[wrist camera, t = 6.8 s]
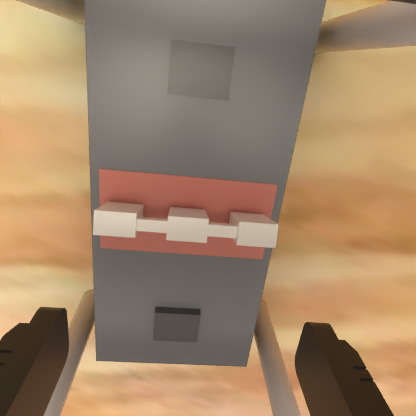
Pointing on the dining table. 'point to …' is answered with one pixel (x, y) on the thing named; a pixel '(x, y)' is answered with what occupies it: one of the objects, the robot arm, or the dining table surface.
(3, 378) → the robot arm
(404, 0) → the dark grey rounded rod
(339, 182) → the dining table surface
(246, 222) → the breaker paddles
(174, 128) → the pdu
